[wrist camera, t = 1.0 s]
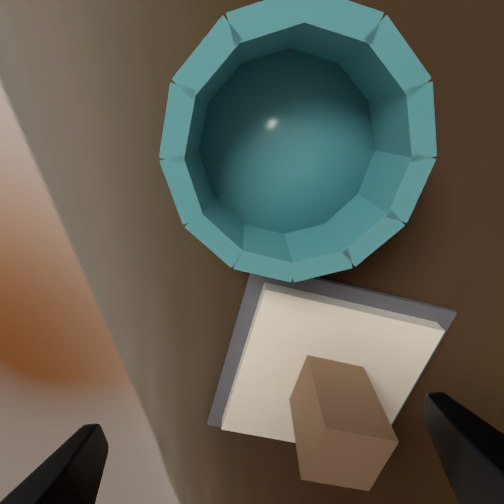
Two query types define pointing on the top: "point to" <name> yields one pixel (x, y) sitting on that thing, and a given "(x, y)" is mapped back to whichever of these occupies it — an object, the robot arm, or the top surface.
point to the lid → (328, 381)
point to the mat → (321, 288)
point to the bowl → (298, 137)
